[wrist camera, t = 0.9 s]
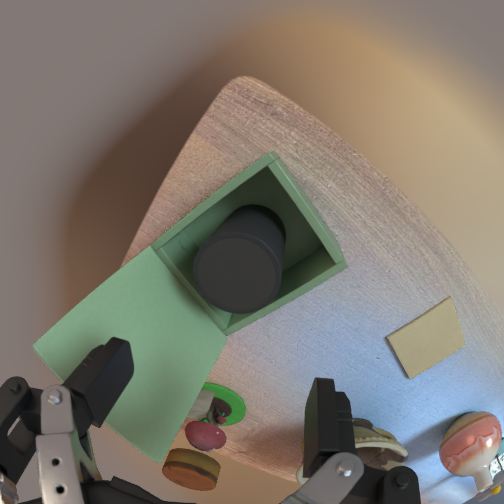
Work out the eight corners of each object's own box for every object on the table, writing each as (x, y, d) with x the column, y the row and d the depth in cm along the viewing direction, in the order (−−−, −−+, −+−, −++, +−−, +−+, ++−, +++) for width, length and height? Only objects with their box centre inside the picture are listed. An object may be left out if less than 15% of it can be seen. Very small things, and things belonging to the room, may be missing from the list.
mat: (450, 295, 30) (451, 297, 30) (464, 343, 32) (465, 344, 32) (386, 336, 34) (387, 338, 33) (409, 377, 36) (409, 379, 35)
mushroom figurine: (265, 398, 40) (252, 483, 26) (229, 431, 45) (211, 501, 31) (195, 363, 39) (158, 445, 25) (169, 403, 44) (137, 471, 30)
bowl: (285, 447, 45) (281, 490, 36) (320, 389, 38) (321, 441, 29) (368, 455, 44) (373, 493, 35) (417, 399, 37) (431, 444, 28)
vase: (499, 391, 35) (530, 455, 19) (476, 430, 39) (497, 488, 23) (444, 410, 38) (470, 486, 21) (426, 447, 42) (441, 513, 26)
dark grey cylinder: (260, 191, 29) (244, 213, 20) (298, 243, 30) (299, 288, 21) (210, 227, 31) (175, 264, 22) (248, 275, 32) (229, 327, 23)
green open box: (274, 150, 28) (269, 151, 22) (338, 242, 30) (348, 267, 24) (176, 225, 32) (149, 245, 26) (238, 303, 35) (226, 336, 28)
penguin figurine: (463, 474, 47) (472, 511, 33) (452, 471, 46) (461, 512, 32) (516, 435, 40) (531, 472, 26) (510, 429, 39) (527, 469, 25)
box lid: (32, 345, 13) (30, 347, 13) (161, 463, 15) (155, 463, 16) (149, 245, 25) (145, 249, 26) (228, 338, 28) (222, 340, 28)
